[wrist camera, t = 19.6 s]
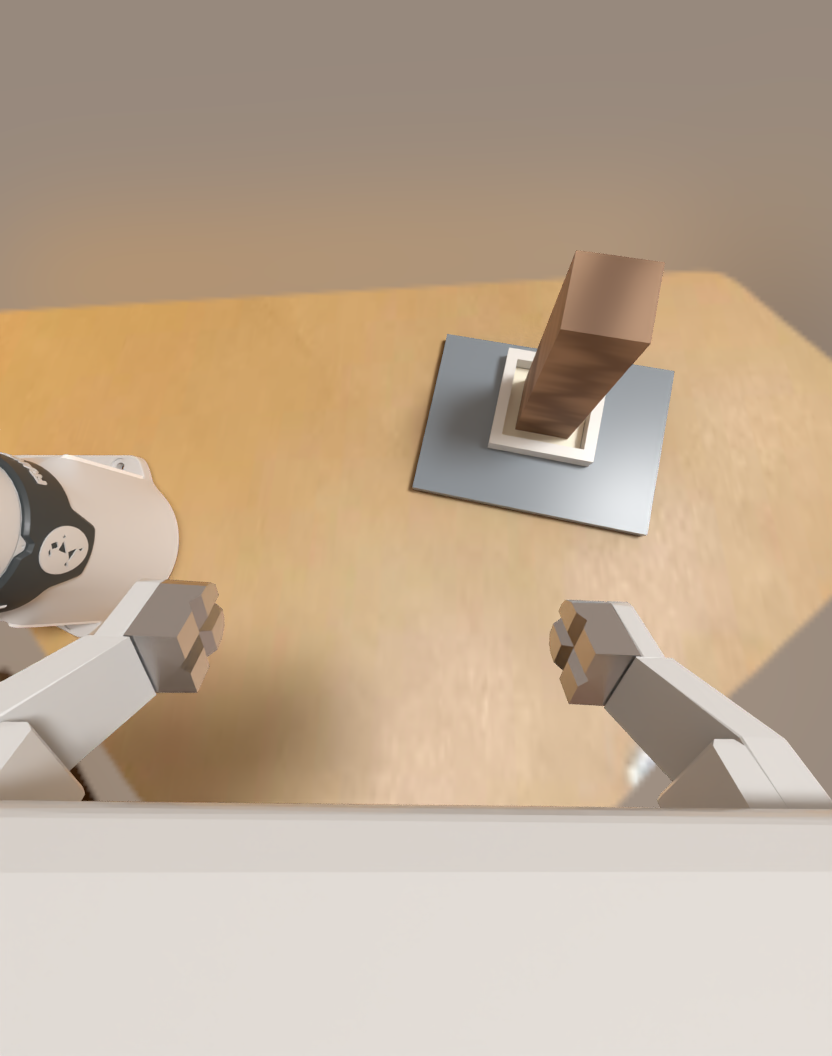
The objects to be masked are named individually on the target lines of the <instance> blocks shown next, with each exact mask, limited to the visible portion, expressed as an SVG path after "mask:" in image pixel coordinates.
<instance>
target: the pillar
mask: <svg viewBox="0 0 832 1056" xmlns="http://www.w3.org/2000/svg"><path fill="white" fill-rule="evenodd" d="M664 264H665V262H658V261H650V260H643V259H636V258H629V257H622V256H615V255H607V254H600V253H593V252H586V251H578V250H576V252H575V255H574V257H573V260H572V262H571V265H570V268H569V270H568V273H567V275H566V278H565V280H564V283H563V285H562V288H561V290H560V293H559V295H558V298H557V300H556V303H555V306H554V308H553V311H552V313H551V316H550V318H549V321H548V323H547V326H546V328H545V331H544V334H543V336H542V339H541V341H540V344H539V346H538V349H537V351H536V354H535V356H534V359H533V362H532V364H531V367H530V369H529V372H528V374H527V377H526V379H525V383H524V388H523V393H522V398H521V403H520V407H519V412H518V417H517V422H516V427H515V429H516V430H521V431H527V432H532V433H537V434H543V435H548V436H554V437H559V438H564V439H568V438H569V437H570V436H571V435H572V433H573V432H574V431H575V430H576V429H577V428H578V427H579V425H580V424H581V423H582V422H583V421H584V420H585V418H586V417H587V416H588V415H589V414H590V413H591V412H592V410H593V409H594V408H595V407H596V406H597V405H598V403H599V402H600V401H601V400H602V399H603V398H604V397H605V395H606V394H607V393H608V392H609V391H610V390H611V388H612V387H613V386H614V385H615V384H616V383H617V382H618V380H619V379H620V378H621V377H622V376H623V375H624V374H625V372H626V371H627V370H628V369H629V368H630V367H631V365H632V364H633V363H634V362H635V361H636V360H637V359H638V357H639V356H640V355H641V354H642V353H643V352H644V350H645V349H646V348H647V347H648V346H649V345H650V344H651V339H652V333H653V327H654V321H655V316H656V310H657V304H658V299H659V293H660V287H661V281H662V276H663V270H664Z"/></svg>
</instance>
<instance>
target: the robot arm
mask: <svg viewBox="0 0 832 1056" xmlns="http://www.w3.org/2000/svg"><path fill="white" fill-rule="evenodd" d="M123 465H124V469H123V470H122V467H123ZM178 546H179V532H178V525H177V521H176V518H175V515H174V512H173V510H172V508H171V506H170V504H169V503H168V501H167V500H166V498H165V497H164V496H163V495H162V494H161V492H160V491H159V490H158V489H157V488H156V486H155V485H154V483H153V480H152V476H151V473H150V470H149V467H148V464H147V463H146V461H145V460H144V459H143V458H140V457H136V456H132V455H66V454H64V455H15V456H13V455H9V454H6V453H2V452H0V621H4V622H7V623H8V625H9V626H10V627H14V628H29V627H45V626H57V627H59V628H61V629H63V630H65V631H66V632H68V633H70V634H72V635H74V636H76V637H80V639H78V640H76V641H74V642H72V643H71V644H69V645H67V646H65V647H63V648H62V649H60V650H58V651H56V652H54V653H52V654H51V655H49V656H47V657H45V658H43V659H42V660H40V661H38V662H36V663H34V664H33V665H31V666H29V667H28V668H26V669H24V670H22V671H20V672H18V673H16V674H15V675H13V676H11V677H9V678H7V679H6V680H4V681H2V682H0V1056H832V800H831V798H830V797H829V796H828V795H827V793H826V792H825V791H824V789H823V788H822V787H821V785H820V784H819V783H818V781H817V780H816V779H815V778H814V776H813V775H812V774H811V772H810V771H809V770H808V768H807V767H806V766H805V764H804V763H803V762H802V761H801V759H800V758H799V757H798V755H797V754H796V753H795V751H794V750H793V749H792V747H791V746H790V745H789V743H788V742H787V741H786V739H784V738H783V737H781V736H780V735H779V734H777V733H776V732H775V731H773V730H772V729H770V728H769V727H768V726H766V725H765V724H763V723H762V722H760V721H759V720H758V719H756V718H755V717H753V716H752V715H751V714H749V713H748V712H747V711H745V710H744V709H742V708H741V707H740V706H738V705H737V704H735V703H734V702H733V701H731V700H730V699H728V698H727V697H726V696H724V695H723V694H721V693H720V692H719V691H717V690H716V689H714V688H713V687H712V686H710V685H709V684H707V683H706V682H705V681H703V680H702V679H700V678H699V677H698V676H696V675H695V674H693V673H692V672H691V671H689V670H688V669H686V668H685V667H684V666H682V665H681V664H679V663H678V662H677V661H675V660H674V659H672V658H665V656H664V655H663V653H662V652H661V650H660V648H659V647H658V645H657V644H656V642H655V640H654V639H653V637H652V636H651V634H650V633H649V631H648V629H647V628H646V626H645V625H644V623H643V622H642V620H641V618H640V617H639V615H638V614H637V612H636V610H635V609H634V607H633V606H632V605H631V604H629V603H628V602H610V601H607V602H604V601H583V600H565V601H564V602H563V603H562V604H561V607H560V609H559V613H560V616H561V619H559V620H558V621H557V622H555V623H554V624H553V626H552V629H551V631H550V638H549V646H550V652H551V656H552V659H553V662H554V663H555V664H556V665H557V666H559V667H560V668H561V669H562V670H563V671H562V674H561V676H560V678H559V679H560V681H561V684H562V687H563V690H564V692H565V695H566V698H567V701H568V703H569V704H579V705H596V706H605V707H604V708H605V710H606V711H607V712H608V713H609V714H610V715H611V716H612V717H613V718H614V719H615V720H616V721H617V722H618V724H619V725H620V726H621V727H622V728H623V729H624V730H625V731H626V732H627V733H628V734H629V735H630V736H631V738H632V739H633V740H634V741H635V742H636V743H637V744H638V745H639V746H640V747H641V748H642V749H643V751H644V752H645V753H646V754H647V755H648V756H649V757H650V758H651V759H652V760H653V761H654V762H655V763H656V765H657V766H658V767H659V768H660V769H661V770H662V771H663V772H664V773H665V774H666V775H667V776H668V777H669V778H670V780H671V781H672V783H671V784H670V785H669V786H668V787H667V788H666V789H665V790H664V791H663V792H662V793H661V794H660V796H659V798H658V800H657V802H658V804H659V806H660V808H651V807H649V808H648V807H647V808H645V807H566V806H480V805H393V804H307V803H215V802H124V801H121V802H120V801H117V802H115V801H81V800H82V799H83V797H84V795H85V792H84V789H83V787H82V785H81V784H80V783H79V782H78V781H77V779H76V778H75V777H74V776H73V775H72V774H71V772H70V770H71V769H72V768H73V767H74V766H75V765H77V764H78V763H79V762H80V761H81V760H82V759H83V758H85V757H86V756H87V755H88V754H89V753H90V752H91V751H93V750H94V749H95V748H96V747H97V746H98V745H99V744H101V743H102V742H103V741H104V740H105V739H106V738H107V737H109V736H110V735H111V734H112V733H113V732H114V731H115V730H117V729H118V728H119V727H120V726H121V725H122V724H123V723H125V722H126V721H127V720H128V719H129V718H130V717H132V716H133V715H134V714H135V713H136V712H137V711H138V710H140V709H141V708H142V707H143V706H144V705H145V704H146V703H148V702H149V701H150V700H151V699H152V698H153V697H154V696H156V693H197V692H198V690H199V688H200V686H201V684H202V682H203V679H204V677H205V675H206V673H207V671H208V669H209V663H208V659H207V657H208V656H209V655H210V654H212V653H213V652H214V651H216V650H217V649H218V647H219V644H220V642H221V640H222V636H223V631H224V614H223V609H222V608H221V607H219V606H218V605H217V604H216V603H215V602H216V600H217V598H218V596H219V594H218V591H217V588H216V584H213V583H209V582H196V581H182V580H168V578H169V576H170V574H171V572H172V570H173V567H174V564H175V561H176V558H177V553H178Z"/></svg>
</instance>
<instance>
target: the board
mask: <svg viewBox="0 0 832 1056" xmlns="http://www.w3.org/2000/svg"><path fill="white" fill-rule="evenodd" d="M509 348H515V349H521V350H527V351H534V352H536V351H537V349H535V348H529V347H523V346H517V345H511V344H505V343H499V342H493V341H487V340H481V339H474V338H468V337H462V336H456V335H450V334H447V338H446V342H445V347H444V351H443V356H442V360H441V364H440V369H439V373H438V377H437V382H436V386H435V391H434V395H433V399H432V404H431V408H430V412H429V417H428V421H427V426H426V430H425V434H424V439H423V443H422V447H421V452H420V456H419V461H418V465H417V469H416V474H415V478H414V483H413V489H414V490H419V491H424V492H429V493H434V494H438V495H443V496H448V497H453V498H458V499H463V500H468V501H473V502H478V503H482V504H487V505H492V506H497V507H502V508H507V509H512V510H517V511H521V512H526V513H531V514H536V515H541V516H546V517H551V518H556V519H561V520H565V521H570V522H575V523H580V524H585V525H590V526H595V527H600V528H605V529H609V530H614V531H619V532H624V533H629V534H634V535H639V536H645V535H647V533H648V527H649V521H650V515H651V509H652V503H653V497H654V491H655V485H656V479H657V473H658V467H659V461H660V455H661V449H662V443H663V437H664V431H665V425H666V419H667V413H668V407H669V401H670V395H671V389H672V383H673V377H674V371H670V370H664V369H658V368H651V367H645V366H639V365H633V364H632V365H631V367H630V368H629V369H628V370H627V371H626V372H625V374H624V375H623V376H622V377H621V378H620V379H619V380H618V382H617V383H616V384H615V385H614V386H613V387H612V388H611V390H610V391H609V392H608V393H607V394H606V396H605V402H604V407H603V413H602V418H601V423H600V429H599V434H598V440H597V445H596V451H595V456H594V462H593V463H592V464H591V465H589V466H588V467H587V466H581V465H576V464H571V463H566V462H560V461H555V460H550V459H545V458H539V457H534V456H529V455H524V454H518V453H513V452H508V451H503V450H497V449H492V448H488V443H489V438H490V434H491V429H492V424H493V419H494V415H495V410H496V405H497V400H498V396H499V391H500V386H501V382H502V377H503V372H504V367H505V363H506V358H507V354H508V350H509ZM585 419H586V418H585ZM584 424H585V423H584ZM583 430H584V428H583ZM582 435H583V434H582ZM581 440H582V439H581ZM580 446H581V444H580Z"/></svg>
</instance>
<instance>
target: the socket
mask: <svg viewBox="0 0 832 1056" xmlns="http://www.w3.org/2000/svg"><path fill="white" fill-rule="evenodd" d="M535 354H536V352H534V351H527V350H521V349H515V348H509V350H508V354H507V358H506V363H505V367H504V372H503V377H502V382H501V386H500V391H499V396H498V400H497V405H496V410H495V415H494V419H493V424H492V429H491V434H490V438H489V443H488V448H492V449H497V450H503V451H508V452H513V453H518V454H524V455H529V456H534V457H539V458H545V459H550V460H555V461H560V462H566V463H571V464H576V465H581V466H587V467H588V466H589V465H591V464H592V463H593V462H594V456H595V451H596V445H597V440H598V434H599V429H600V423H601V418H602V413H603V407H604V402H605V397H604V398H603V399H602V400H601V401H600V402H599V403H598V405H597V406H596V407H595V408H594V409H593V410H592V412H591V413H590V414H589V415H588V416H587V417H586V419H585V420H584V421H583V422H582V423H581V424H580V425H579V427H578V428H577V429H576V430H575V431H574V432H573V433H572V435H571V436H570V437H569V438H568V439H564V438H559V437H554V436H548V435H543V434H537V433H532V432H527V431H521V430H516V429H515V427H516V422H517V417H518V412H519V407H520V403H521V398H522V393H523V388H524V383H525V379H526V377H527V374H528V372H529V369H530V367H531V364H532V362H533V359H534V356H535ZM605 396H606V395H605ZM584 423H585V424H584ZM583 428H584V430H583ZM582 434H583V435H582ZM581 439H582V440H581ZM580 444H581V446H580Z"/></svg>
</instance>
